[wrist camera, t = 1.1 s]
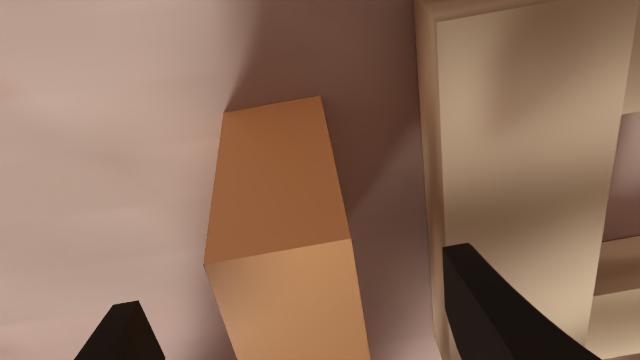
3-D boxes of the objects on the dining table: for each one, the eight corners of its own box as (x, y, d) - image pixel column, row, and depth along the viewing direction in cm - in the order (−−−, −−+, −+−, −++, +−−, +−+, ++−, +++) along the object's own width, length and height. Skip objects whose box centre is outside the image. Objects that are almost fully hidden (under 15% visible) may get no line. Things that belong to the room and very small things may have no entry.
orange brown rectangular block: (342, 223, 20) (376, 393, 14) (258, 238, 20) (256, 414, 14) (320, 95, 17) (351, 238, 11) (223, 112, 17) (203, 264, 11)
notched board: (697, 288, 23) (740, 335, 21) (434, 334, 23) (451, 385, 21) (805, -76, 15) (890, -60, 13) (412, -5, 16) (436, 22, 14)
